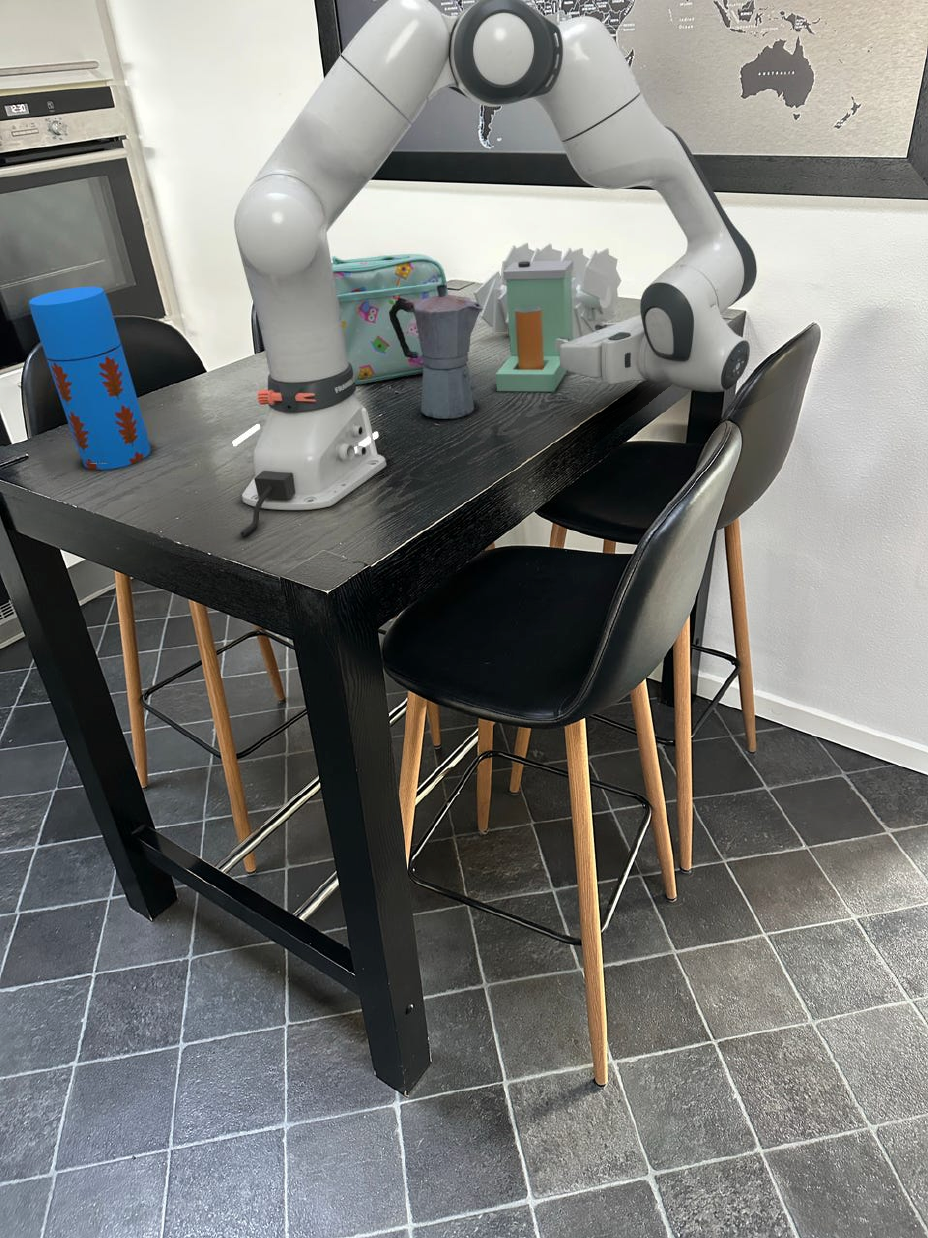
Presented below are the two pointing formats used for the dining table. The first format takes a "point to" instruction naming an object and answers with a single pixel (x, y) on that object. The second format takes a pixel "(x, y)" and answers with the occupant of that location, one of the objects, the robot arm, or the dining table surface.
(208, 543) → the dining table surface
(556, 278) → the pet feeder tower
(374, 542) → the dining table surface
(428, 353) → the moka pot
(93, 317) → the thermos
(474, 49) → the robot arm
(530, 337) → the orange silver-capped cylinder
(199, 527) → the dining table surface
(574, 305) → the spiral staircase
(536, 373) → the square frame
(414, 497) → the dining table surface
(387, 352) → the lunch box
